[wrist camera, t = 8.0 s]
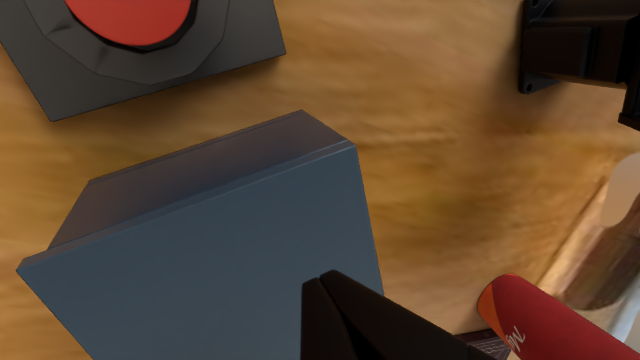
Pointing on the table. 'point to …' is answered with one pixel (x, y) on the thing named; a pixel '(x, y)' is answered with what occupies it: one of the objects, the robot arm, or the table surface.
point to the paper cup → (544, 325)
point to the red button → (132, 18)
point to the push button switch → (130, 52)
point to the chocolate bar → (488, 343)
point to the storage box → (193, 172)
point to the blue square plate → (214, 266)
